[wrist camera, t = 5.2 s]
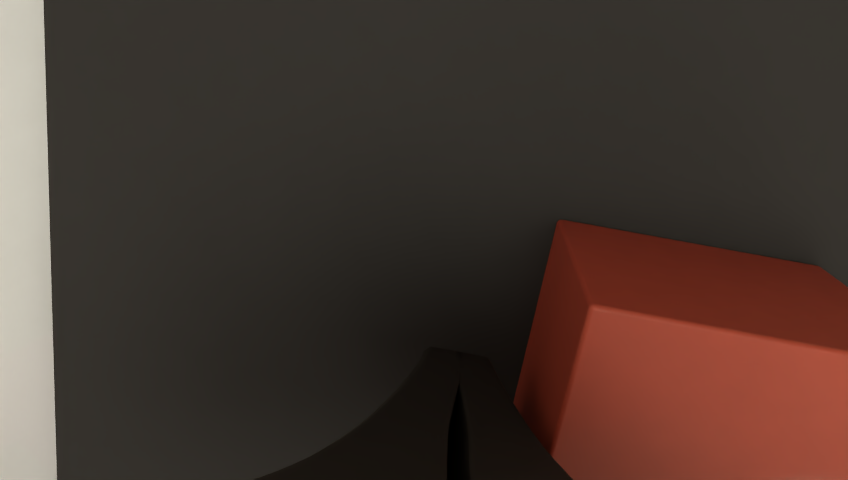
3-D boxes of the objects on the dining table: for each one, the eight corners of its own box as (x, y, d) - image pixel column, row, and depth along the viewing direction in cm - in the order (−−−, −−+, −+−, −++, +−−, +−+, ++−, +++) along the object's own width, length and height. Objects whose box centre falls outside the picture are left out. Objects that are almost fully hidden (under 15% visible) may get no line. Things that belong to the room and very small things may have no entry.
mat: (1045, 770, 17) (1078, 813, 16) (82, 574, 18) (59, 605, 17) (1550, 69, 11) (1650, 73, 10) (72, -182, 12) (36, -200, 11)
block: (707, 553, 15) (786, 740, 11) (486, 510, 15) (487, 680, 11) (821, 265, 12) (972, 374, 8) (557, 217, 12) (589, 304, 9)
